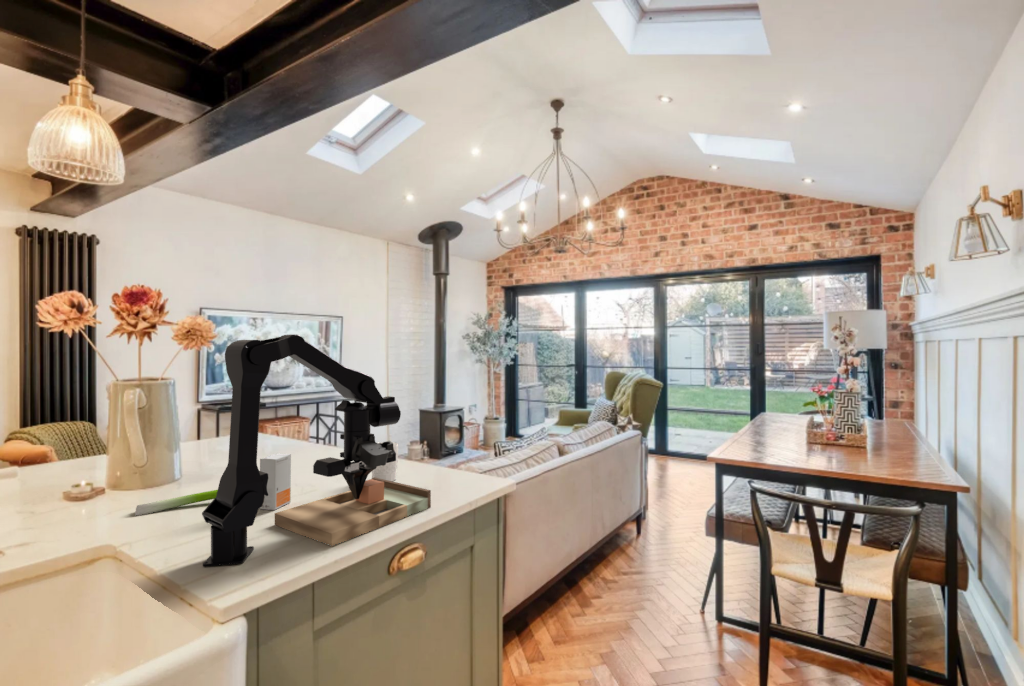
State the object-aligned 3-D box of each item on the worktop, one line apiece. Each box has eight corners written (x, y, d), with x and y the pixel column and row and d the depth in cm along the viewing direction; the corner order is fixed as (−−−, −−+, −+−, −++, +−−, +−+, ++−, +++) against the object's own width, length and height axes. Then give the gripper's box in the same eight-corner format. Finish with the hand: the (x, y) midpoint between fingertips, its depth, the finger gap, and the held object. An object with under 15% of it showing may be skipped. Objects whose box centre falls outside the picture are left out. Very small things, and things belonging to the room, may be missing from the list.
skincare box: (275, 510, 114) (274, 459, 114) (259, 509, 115) (258, 458, 115) (291, 502, 120) (291, 453, 120) (276, 501, 121) (276, 452, 121)
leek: (140, 518, 116) (279, 488, 130) (135, 532, 110) (282, 499, 124) (136, 494, 115) (277, 467, 129) (131, 506, 109) (280, 476, 123)
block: (368, 504, 111) (368, 486, 111) (355, 500, 113) (355, 483, 113) (384, 499, 114) (384, 482, 114) (371, 495, 117) (371, 479, 117)
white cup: (364, 482, 137) (364, 446, 137) (379, 475, 145) (379, 441, 145) (389, 484, 135) (389, 448, 135) (403, 477, 142) (403, 442, 142)
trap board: (331, 546, 94) (331, 525, 94) (274, 524, 105) (274, 506, 105) (430, 507, 116) (430, 490, 116) (374, 492, 128) (374, 477, 128)
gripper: (344, 439, 99) (344, 517, 99) (412, 427, 114) (412, 494, 114) (312, 434, 105) (311, 507, 105) (380, 423, 120) (380, 487, 120)
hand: (356, 498), depth 111 cm, fingers closed
